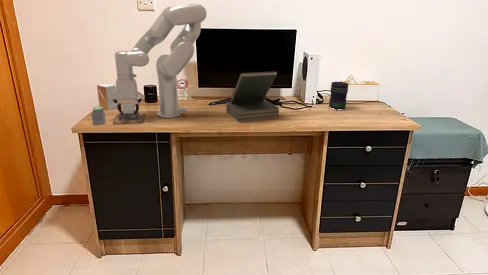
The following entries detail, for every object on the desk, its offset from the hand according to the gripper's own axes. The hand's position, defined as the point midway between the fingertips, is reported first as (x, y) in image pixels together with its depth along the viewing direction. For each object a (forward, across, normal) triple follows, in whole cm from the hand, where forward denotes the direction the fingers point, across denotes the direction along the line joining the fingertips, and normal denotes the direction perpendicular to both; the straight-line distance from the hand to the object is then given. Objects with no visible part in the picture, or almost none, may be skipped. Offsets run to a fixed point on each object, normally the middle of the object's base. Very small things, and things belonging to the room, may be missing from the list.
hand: (128, 111), depth 175 cm
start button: (+4, +14, +3) cm, 15 cm away
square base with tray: (+4, 0, 0) cm, 4 cm away
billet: (+3, 0, 0) cm, 3 cm away
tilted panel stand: (+5, -64, 0) cm, 64 cm away
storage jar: (+5, -118, -8) cm, 118 cm away
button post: (+4, +14, +3) cm, 15 cm away
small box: (+5, +14, -24) cm, 28 cm away
